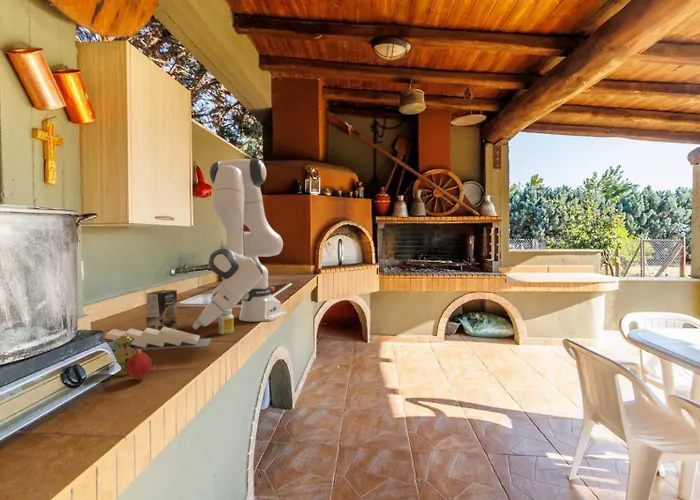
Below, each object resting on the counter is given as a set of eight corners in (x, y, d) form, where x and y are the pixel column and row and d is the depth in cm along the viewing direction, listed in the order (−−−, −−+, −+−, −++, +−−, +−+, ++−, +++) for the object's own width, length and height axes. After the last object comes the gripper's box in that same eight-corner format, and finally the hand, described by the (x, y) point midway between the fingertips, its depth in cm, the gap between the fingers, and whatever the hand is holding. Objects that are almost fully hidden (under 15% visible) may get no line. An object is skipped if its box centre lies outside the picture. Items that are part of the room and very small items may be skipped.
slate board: (211, 340, 126) (211, 338, 126) (207, 348, 117) (207, 345, 117) (132, 345, 120) (132, 342, 119) (122, 354, 111) (122, 351, 111)
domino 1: (151, 338, 119) (113, 328, 116) (147, 343, 114) (106, 333, 111) (150, 342, 119) (111, 333, 116) (145, 347, 114) (105, 337, 111)
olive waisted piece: (102, 377, 93) (102, 340, 93) (115, 367, 100) (115, 332, 100) (133, 375, 95) (133, 338, 94) (144, 365, 102) (143, 331, 101)
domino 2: (134, 339, 118) (92, 344, 115) (128, 343, 113) (85, 349, 110) (134, 343, 118) (93, 349, 115) (129, 348, 113) (85, 354, 110)
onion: (126, 377, 93) (126, 347, 93) (151, 373, 96) (151, 344, 96) (125, 386, 88) (125, 354, 88) (152, 381, 91) (151, 351, 91)
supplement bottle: (215, 336, 131) (215, 310, 131) (223, 332, 137) (223, 307, 136) (229, 337, 131) (229, 311, 130) (236, 333, 136) (236, 308, 135)
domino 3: (168, 337, 121) (130, 328, 117) (164, 342, 115) (125, 332, 112) (166, 342, 120) (129, 332, 117) (162, 346, 115) (123, 337, 112)
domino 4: (184, 336, 122) (147, 327, 119) (181, 341, 117) (142, 331, 114) (182, 341, 122) (146, 332, 119) (179, 345, 117) (141, 336, 114)
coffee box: (161, 337, 129) (160, 293, 128) (145, 336, 130) (145, 292, 129) (178, 331, 138) (177, 289, 137) (163, 330, 139) (163, 289, 138)
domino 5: (200, 335, 123) (163, 326, 120) (197, 340, 118) (159, 330, 115) (198, 340, 123) (162, 331, 120) (195, 344, 118) (158, 335, 115)
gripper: (220, 286, 131) (192, 314, 129) (214, 296, 112) (181, 328, 110) (233, 298, 133) (205, 325, 131) (229, 309, 113) (196, 341, 111)
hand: (194, 327), depth 120 cm, fingers closed
